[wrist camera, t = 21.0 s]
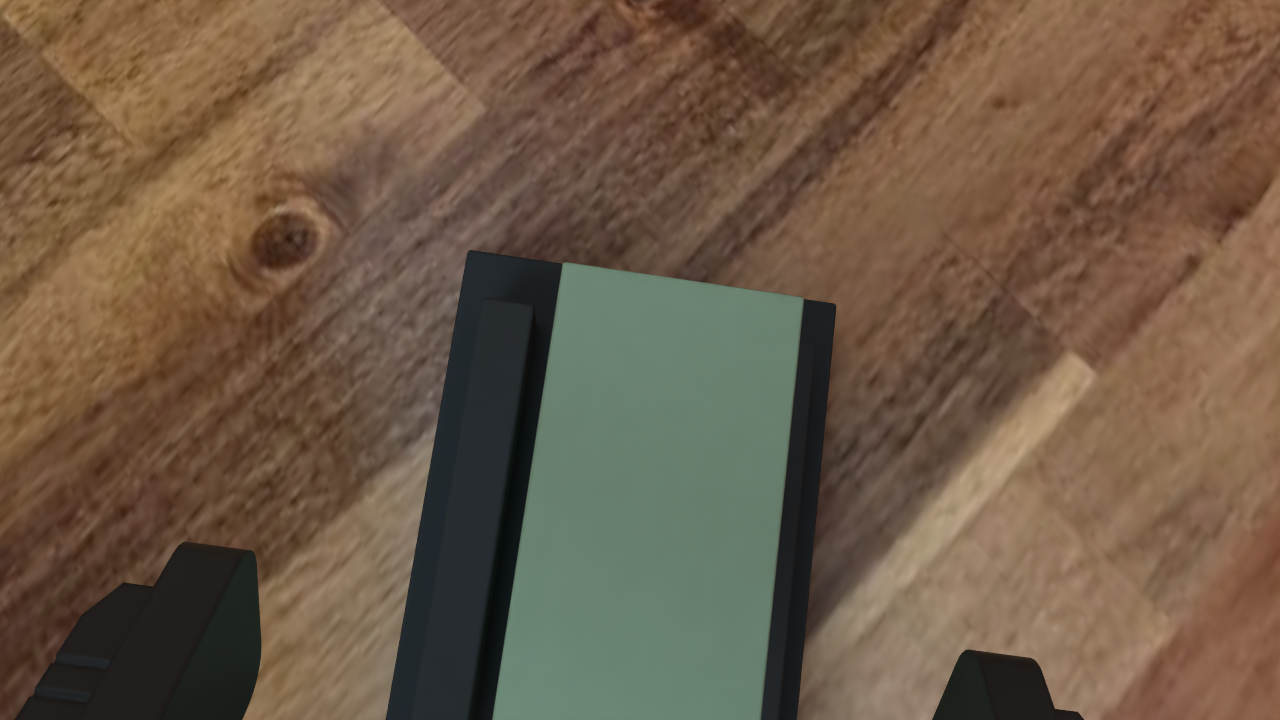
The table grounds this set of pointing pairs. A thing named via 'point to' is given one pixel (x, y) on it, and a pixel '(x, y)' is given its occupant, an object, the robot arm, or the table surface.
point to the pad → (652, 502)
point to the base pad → (498, 484)
